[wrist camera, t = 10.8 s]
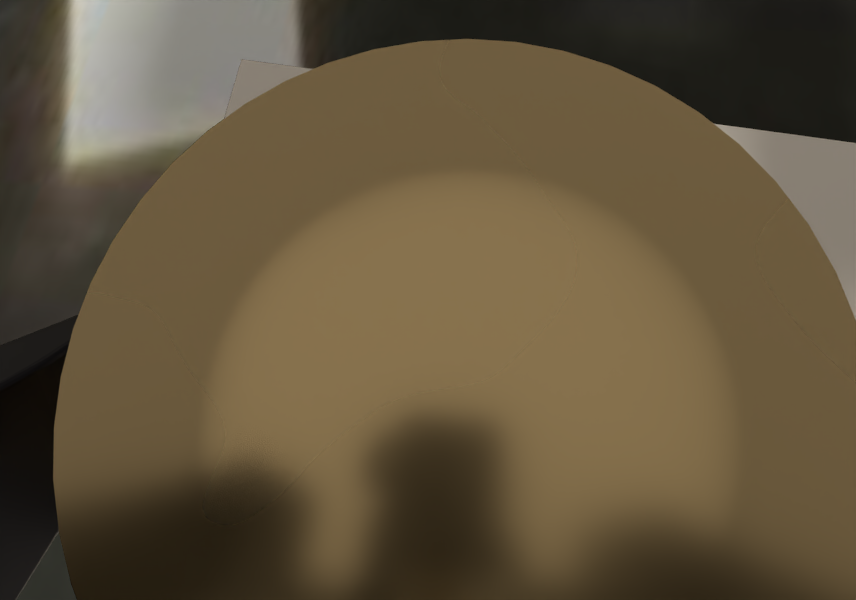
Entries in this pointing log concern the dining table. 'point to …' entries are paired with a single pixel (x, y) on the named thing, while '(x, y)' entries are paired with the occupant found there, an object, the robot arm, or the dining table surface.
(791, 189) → the socket block
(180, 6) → the dining table surface
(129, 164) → the dining table surface
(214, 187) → the brass tube
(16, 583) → the robot arm
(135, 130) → the dining table surface
